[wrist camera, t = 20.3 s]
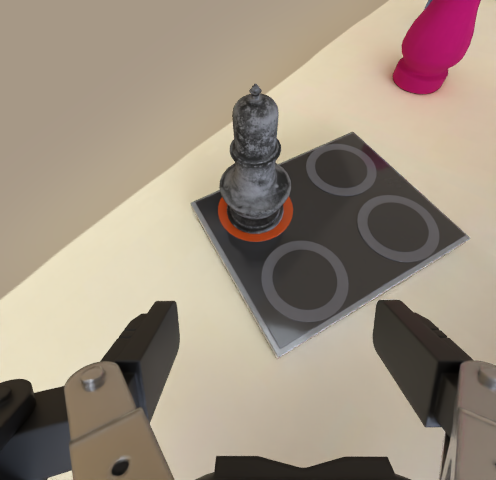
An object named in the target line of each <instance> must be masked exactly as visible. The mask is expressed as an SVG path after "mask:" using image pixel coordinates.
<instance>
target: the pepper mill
mask: <svg viewBox="0 0 496 480" xmlns="http://www.w3.org/2000/svg"><path fill="white" fill-rule="evenodd" d="M480 1H481V0H432V2H431V3H430V4H429V5H428V7H427V8H426V9H425V10H424V11H423V12H422V13H421V14H420V16H419V17H418V18H417V19H416V20H415V21H414V23H413V24H412V26H411V27H410V29H409V30H408V32H407V34H406V36H405V38H404V40H403V42H402V54H403V58H402V59H400V60H399V62H398V64H397V66H396V69H395V71H394V73H393V79H394V82H395V83H396V84H397V86H399V87H400V88H402V89H403V90H406V91H408V92H412V93H417V94H428V93H433V92H435V91H437V90H438V89H439V88H440V87H441V85H442V84H443V82H444V80H445V79H446V77H447V75H448V68H450V67H452V66H454V65H456V64H457V63H458V62H459V61H460V60H461V59H462V58H463V57H464V55H465V53H466V51H467V49H468V47H469V45H470V42H471V39H472V36H473V33H474V27H475V20H476V15H477V10H478V7H479V4H480Z"/></svg>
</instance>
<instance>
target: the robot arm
mask: <svg viewBox="0 0 496 480" xmlns="http://www.w3.org/2000/svg"><path fill="white" fill-rule="evenodd" d="M179 342H180V334H179V323H178V312H177V304H176V302H175V301H156V302H155V303H154V304H153V306H152V307H151V309H150V310H149V312H148V313H147V314H140V315H139V316H138V317H136V318H135V319H133V320H132V321H131V322H130V323H129V324H128V325H127V327H126V328H125V329H124V331H123V332H122V333H121V335H120V336H119V338H118V339H117V340H116V341H115V343H114V344H113V345H112V347H111V348H110V349H109V351H108V352H107V353H106V354H105V356H104V357H103V358H102V360H101V361H100V362H97V363H93V364H90V365H88V366H85V367H83V368H81V369H80V370H78V371H77V372H75V373H74V374H73V375H72V376H71V377H70V378H69V379H68V380H67V382H66V384H65V386H62V387H58V388H54V389H49V390H45V391H41V392H36V393H34V392H33V388H32V385H31V383H30V382H29V381H27V380H24V379H14V380H9V381H5V382H2V383H0V480H47V479H48V478H49V477H52V476H55V475H58V474H61V473H65V472H68V471H71V470H72V473H73V480H174V478H173V475H172V473H171V471H170V469H169V466H168V464H167V462H166V460H165V457H164V455H163V453H162V451H161V448H160V446H159V444H158V442H157V439H156V437H155V435H154V433H153V431H152V428H151V426H150V421H151V419H152V416H153V414H154V411H155V409H156V406H157V403H158V401H159V398H160V396H161V393H162V391H163V388H164V386H165V383H166V380H167V378H168V375H169V373H170V370H171V368H172V365H173V363H174V360H175V357H176V355H177V352H178V349H179ZM373 344H374V347H375V350H376V352H377V354H378V355H379V357H380V358H381V360H382V361H383V363H384V364H385V366H386V367H387V369H388V371H389V372H390V374H391V375H392V377H393V378H394V380H395V381H396V383H397V384H398V386H399V388H400V389H401V391H402V392H403V394H404V395H405V397H406V398H407V400H408V401H409V403H410V405H411V406H412V408H413V409H414V411H415V412H416V414H417V415H418V417H419V418H420V420H421V422H422V423H423V425H424V426H425V427H442V428H443V429H444V431H445V436H444V440H443V447H442V455H441V463H440V472H439V480H496V365H493V364H490V363H486V362H482V361H474V360H473V359H472V358H471V357H470V356H468V355H467V354H466V353H465V352H464V351H463V350H462V349H461V348H460V347H459V346H457V345H456V344H455V343H454V342H453V341H452V340H451V339H450V338H447V336H446V335H445V334H444V333H443V332H442V331H441V330H439V328H437V327H436V326H435V325H434V324H433V323H432V322H431V321H430V320H428V319H426V318H425V317H423V316H421V315H419V314H417V313H413V312H412V311H411V310H410V309H409V308H408V307H407V306H406V305H405V304H404V303H403V302H402V301H400V300H379V301H378V302H377V305H376V312H375V320H374V329H373ZM196 480H410V479H408V478H405V477H403V476H400V475H397V474H395V473H394V471H393V468H392V466H391V464H390V462H389V460H388V457H342V458H338V459H335V460H332V461H328V462H325V463H321V464H318V465H314V466H311V467H307V468H299V467H295V466H292V465H288V464H284V463H281V462H277V461H273V460H270V459H266V458H263V457H259V456H216V464H215V472H213V473H210V474H207V475H205V476H202V477H200V478H198V479H196Z"/></svg>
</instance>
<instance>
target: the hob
mask: <svg viewBox="0 0 496 480" xmlns="http://www.w3.org/2000/svg"><path fill="white" fill-rule="evenodd" d="M278 165H279V166H281V167H282V168H283V169H284V170H285V171H286V172H287V174H288V176H289V178H290V180H291V191H290V195H289V197H288V198H287V200H286V202H285V203H284V204H283V209H284V213H283V217H282V219H281V221H280V222H279V224H278V225H277V226H276V227H275V228H274V229H272V230H270V231H268V232H265V233H260V234H250V233H245V232H243V231H241V230H239V229H237V228H236V227H235V226H233V225H232V223H231V222H230V220H229V219H228V215H227V205H228V204H227V203H226V202H225V201H224V199H223V198H222V196H221V192H220V190H219V191H216V192H214V193H212V194H210V195H207V196H205V197H203V198H201V199H198V200H196V201H194V202H191V206H192V209H193V211H194V213H195V215H196V217H197V219H198V220H199V222H200V224H201V226H202V227H203V229H204V231H205V233H206V234H207V236H208V238H209V240H210V242H211V243H212V245H213V247H214V249H215V250H216V252H217V254H218V256H219V258H220V259H221V261H222V263H223V265H224V266H225V268H226V270H227V272H228V273H229V275H230V277H231V279H232V281H233V282H234V284H235V286H236V288H237V289H238V291H239V293H240V295H241V297H242V298H243V300H244V302H245V304H246V305H247V307H248V309H249V311H250V312H251V314H252V316H253V318H254V320H255V321H256V323H257V325H258V327H259V328H260V330H261V332H262V334H263V335H264V337H265V339H266V341H267V343H268V344H269V346H270V348H271V350H272V351H273V353H274V355H275V357H276V358H277V359H279V358H280V357H282V356H283V355H285V354H287V353H288V352H290V351H292V350H293V349H295V348H296V347H298V346H300V345H301V344H303V343H304V342H306V341H308V340H309V339H311V338H312V337H314V336H316V335H317V334H319V333H321V332H322V331H324V330H325V329H327V328H329V327H330V326H332V325H333V324H335V323H337V322H338V321H340V320H341V319H343V318H345V317H346V316H348V315H350V314H351V313H353V312H354V311H356V310H358V309H359V308H361V307H362V306H364V305H366V304H367V303H369V302H370V301H372V300H374V299H375V298H377V297H378V296H380V295H382V294H383V293H385V292H387V291H388V290H390V289H391V288H393V287H395V286H396V285H398V284H399V283H401V282H403V281H404V280H406V279H407V278H409V277H411V276H412V275H414V274H416V273H417V272H419V271H420V270H422V269H424V268H425V267H427V266H428V265H430V264H432V263H433V262H435V261H436V260H438V259H440V258H441V257H443V256H445V255H446V254H448V253H449V252H451V251H453V250H454V249H456V248H457V247H459V246H461V245H462V244H464V243H465V242H466V241H468V240H469V239H470V237H469V236H468V235H467V234H465V233H464V232H463V231H462V230H461V229H460V228H459V227H458V226H457V225H456V224H454V223H453V222H452V221H451V220H450V219H449V218H448V217H447V216H446V215H444V214H443V213H442V212H441V211H440V210H439V209H438V208H437V207H436V206H435V205H433V204H432V203H431V202H430V201H429V200H428V199H427V198H426V197H425V196H424V195H422V194H421V193H420V192H419V191H418V190H417V189H416V188H415V187H414V186H412V185H411V184H410V183H409V182H408V181H407V180H406V179H405V178H404V177H403V176H401V175H400V174H399V173H398V172H397V171H396V170H395V169H394V168H393V167H392V166H390V165H389V164H388V163H387V162H386V161H385V160H384V159H383V158H382V157H380V156H379V155H378V154H377V153H376V152H375V151H374V150H373V149H372V148H371V147H369V146H368V145H367V144H366V143H365V142H364V141H363V140H362V139H361V138H360V137H358V136H357V135H356V134H355V133H354V132H351V133H348V134H346V135H344V136H342V137H339V138H337V139H335V140H332V141H330V142H328V143H326V144H323V145H321V146H319V147H317V148H314V149H312V150H310V151H307V152H305V153H303V154H301V155H298V156H296V157H294V158H292V159H289V160H287V161H285V162H282V163H280V164H278Z"/></svg>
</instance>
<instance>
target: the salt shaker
mask: <svg viewBox="0 0 496 480" xmlns="http://www.w3.org/2000/svg"><path fill="white" fill-rule="evenodd" d="M250 93H251V94H249V95H246V96H244V97H242V98H240V99H239V100H238V102H237V103H236V104H235V106H234V108H233V115H232V117H233V129H234V140H233V141H232V143H231V145H230V154H231V157H232V158H233V160H234V161H235V163H234V164H233V165H232V166H230V167H229V168H228V169H227V170H226V171H225V172H224V173H223V175H222V177H221V180H220V192H221V196H222V198H223V199H224V201H225V202H226V203H227V204H228V205H227V215H228V219H229V220H230V222H231V223H232V225H233V226H235V227H236V228H237V229H239V230H241V231H243V232H245V233H250V234H260V233H265V232H268V231H270V230H272V229H274V228H275V227H276V226H277V225H278V224H279V222H280V221H281V219H282V217H283V213H284V209H283V204H284V203H285V202H286V200H287V198H288V197H289V195H290V191H291V180H290V178H289V176H288V174H287V172H286V171H285V170H284V169H283V168H282V167H281V166H279V165H278V164H276V163H275V162H276V160H277V158H278V157H279V155H280V152H281V145H280V142H279V140H278V139H277V126H278V107H277V105H276V103H275V102H274V100H273V99H272V98H270V97H269V96H267V95H264V94H260V93H261V89H260V88H259V86H258V85H257V84H254V86H252V88H251V89H250Z"/></svg>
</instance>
